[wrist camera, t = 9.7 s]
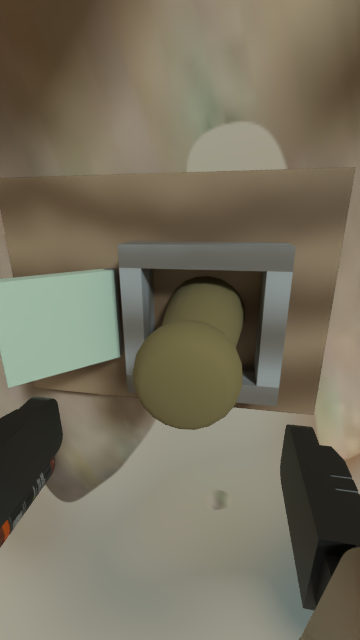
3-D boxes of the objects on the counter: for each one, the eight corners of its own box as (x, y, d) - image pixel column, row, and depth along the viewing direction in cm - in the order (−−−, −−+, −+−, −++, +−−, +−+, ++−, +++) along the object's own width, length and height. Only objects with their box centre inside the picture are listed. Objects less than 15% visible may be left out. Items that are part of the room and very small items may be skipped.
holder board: (8, 180, 24) (-40, 172, 19) (346, 171, 20) (377, 157, 15) (43, 379, 29) (11, 406, 25) (309, 404, 25) (324, 441, 21)
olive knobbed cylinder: (239, 355, 23) (243, 462, 13) (164, 345, 24) (114, 439, 14) (250, 280, 21) (265, 337, 11) (168, 272, 22) (112, 318, 12)
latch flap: (-16, 280, 18) (-15, 283, 17) (113, 267, 23) (120, 269, 22) (6, 380, 21) (8, 387, 20) (119, 350, 25) (126, 355, 24)
